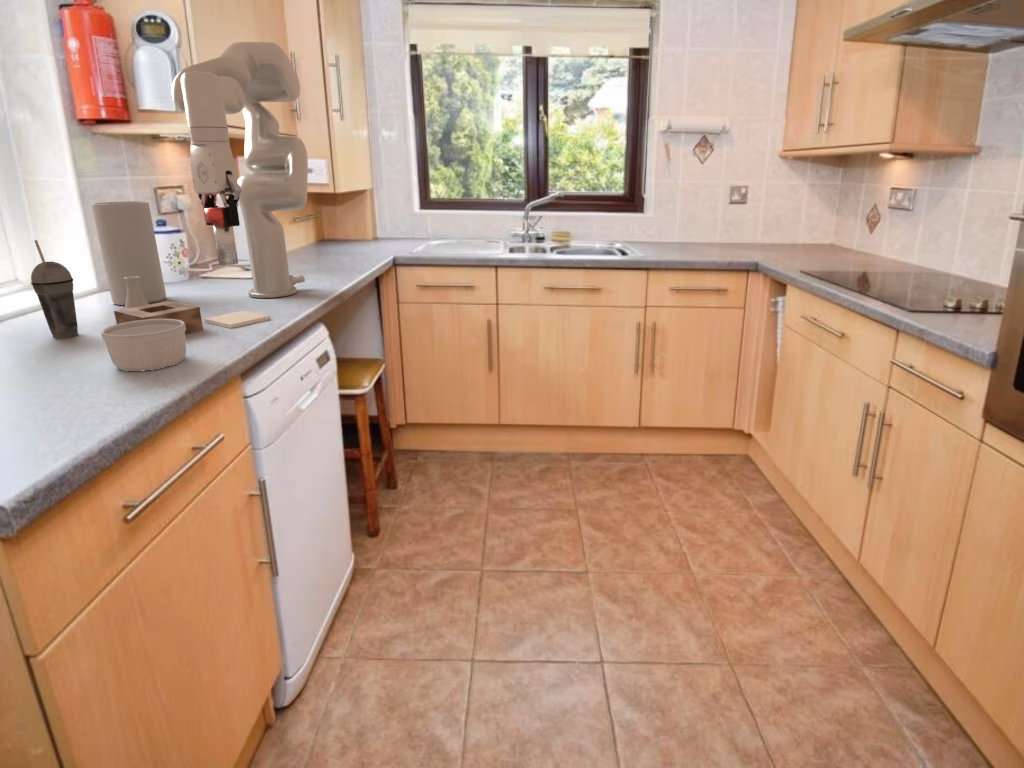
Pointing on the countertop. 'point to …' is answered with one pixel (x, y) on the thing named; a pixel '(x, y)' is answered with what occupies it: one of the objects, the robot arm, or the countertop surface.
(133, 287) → the flask
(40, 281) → the beverage cup
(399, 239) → the countertop surface
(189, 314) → the eye block
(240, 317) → the pad
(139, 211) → the cylinder vase
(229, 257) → the spice jar
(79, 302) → the countertop surface
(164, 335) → the ramekin
